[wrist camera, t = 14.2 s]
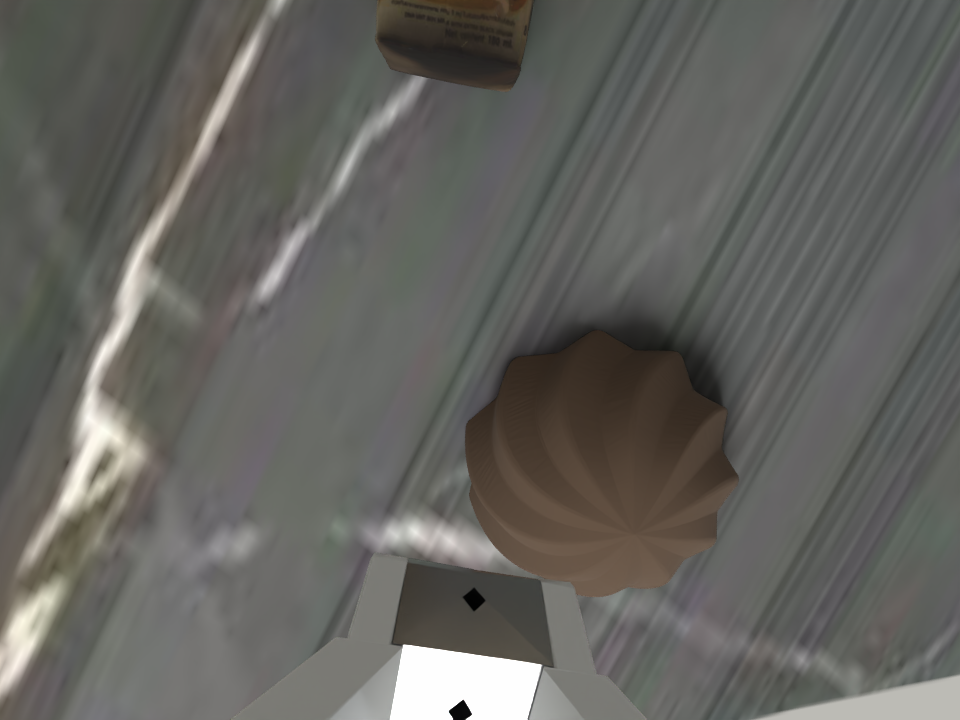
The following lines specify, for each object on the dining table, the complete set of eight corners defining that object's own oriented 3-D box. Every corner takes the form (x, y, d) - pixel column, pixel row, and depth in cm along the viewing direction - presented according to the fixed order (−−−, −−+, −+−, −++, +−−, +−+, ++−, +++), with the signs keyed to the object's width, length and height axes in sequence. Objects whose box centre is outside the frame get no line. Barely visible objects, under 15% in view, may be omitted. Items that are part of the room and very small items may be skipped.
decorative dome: (636, 274, 36) (694, 302, 26) (768, 485, 41) (857, 573, 31) (411, 426, 39) (389, 500, 29) (557, 604, 44) (579, 718, 34)
